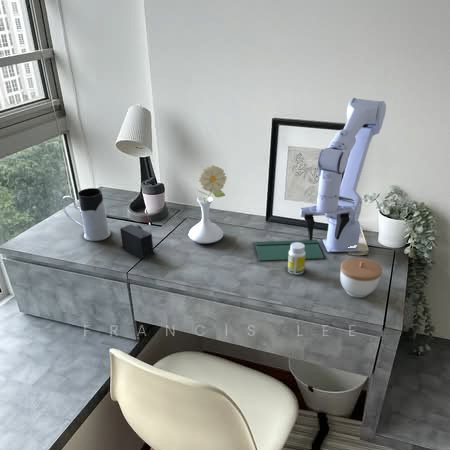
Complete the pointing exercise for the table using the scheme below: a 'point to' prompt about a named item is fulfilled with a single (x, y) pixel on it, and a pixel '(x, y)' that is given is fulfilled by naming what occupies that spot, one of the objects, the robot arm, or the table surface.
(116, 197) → the table surface
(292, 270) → the supplement bottle
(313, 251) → the green board
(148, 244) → the digital camera
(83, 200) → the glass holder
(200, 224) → the flower in vase
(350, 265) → the trinket box
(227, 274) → the table surface
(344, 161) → the robot arm
